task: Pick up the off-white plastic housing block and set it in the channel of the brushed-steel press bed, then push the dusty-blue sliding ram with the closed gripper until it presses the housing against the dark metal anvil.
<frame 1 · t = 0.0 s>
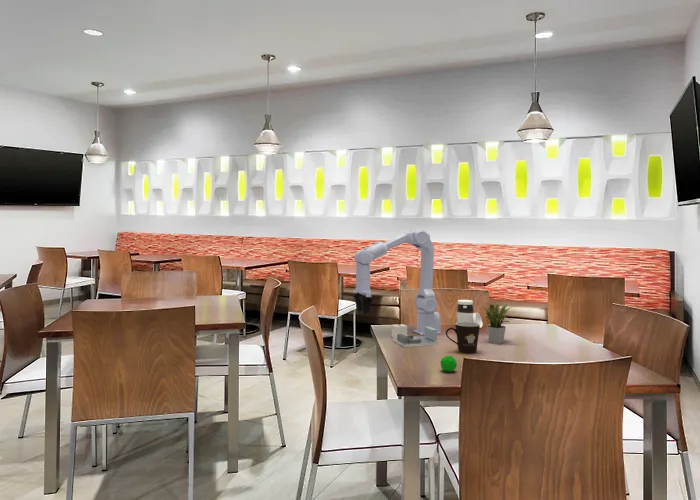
hand: (363, 312, 212), 10 cm above the table, fingers open, 7 cm apart
housing: (399, 337, 212), on the table
coffee mug: (463, 351, 188), on the table
ram: (430, 333, 204), point 3 cm above the table, slide at 0.0 cm
press frame: (414, 342, 202), on the table
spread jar: (469, 327, 235), on the table
polyhedron: (448, 371, 162), on the table
house plant: (499, 342, 203), on the table
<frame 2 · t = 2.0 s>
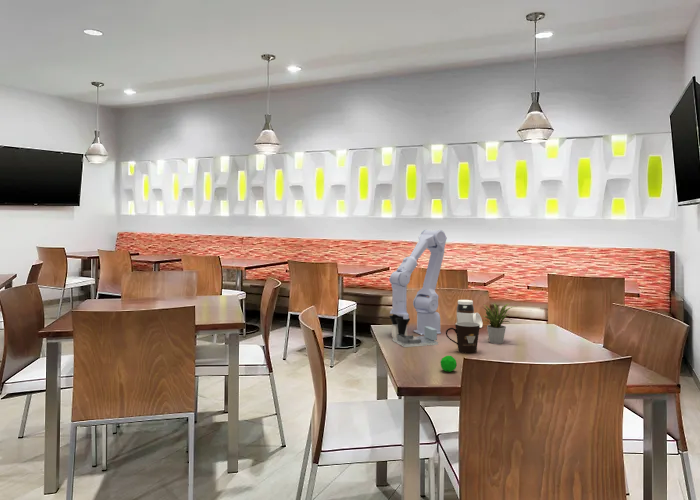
hand: (399, 333, 212), 1 cm above the table, fingers closed on housing, 4 cm apart
housing: (399, 337, 212), on the table, touching gripper
everything else where it was.
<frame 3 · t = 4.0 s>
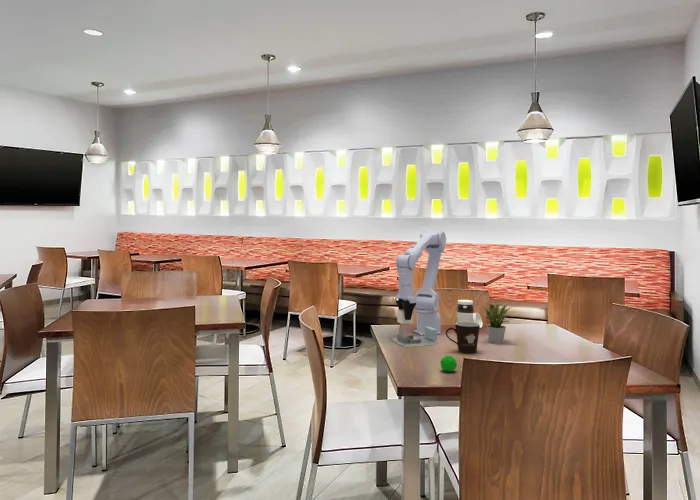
hand: (405, 318, 207), 8 cm above the table, fingers closed on housing, 4 cm apart
housing: (405, 322, 207), point 7 cm above the table, touching gripper
everything else where it was.
when the fingers open (3 cm above the table, at t = 5.7 s): housing stays where it is, resting on press frame.
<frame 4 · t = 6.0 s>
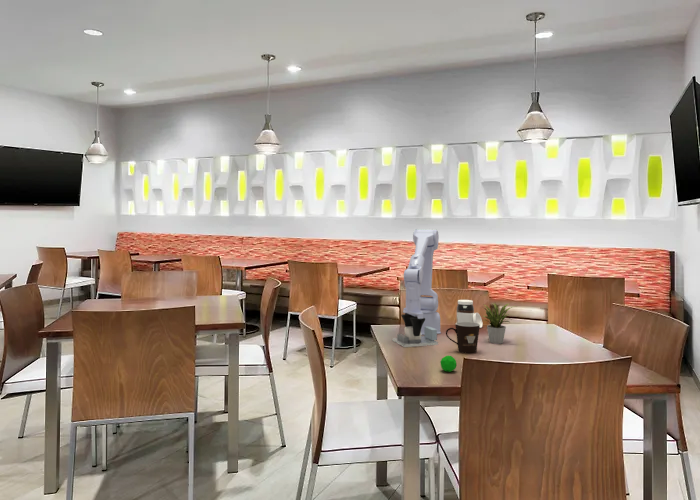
hand: (413, 334, 202), 3 cm above the table, fingers open, 6 cm apart
housing: (412, 340, 202), point 1 cm above the table, touching press frame
everything else where it was.
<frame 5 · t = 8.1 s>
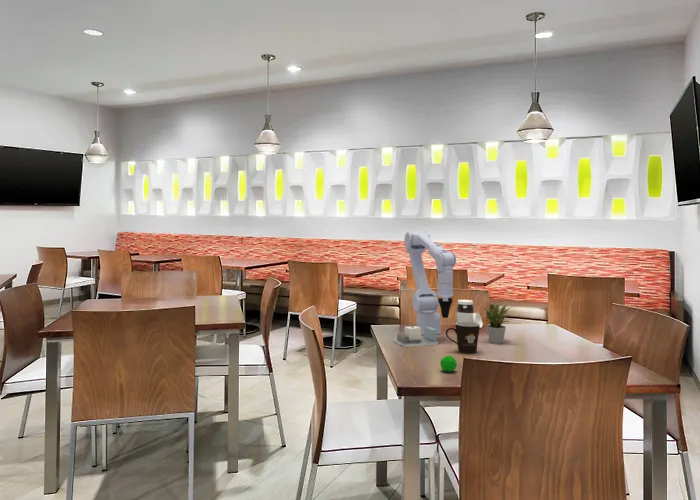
hand: (445, 317, 205), 9 cm above the table, fingers closed
nothing on the table moved.
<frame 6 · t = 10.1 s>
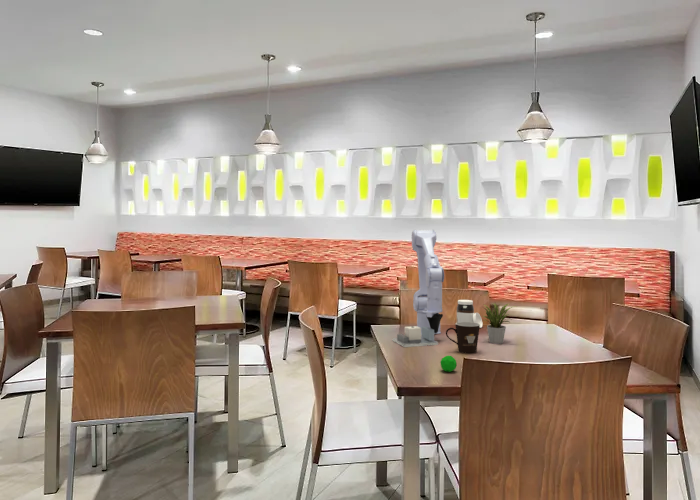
hand: (434, 332, 204), 3 cm above the table, fingers closed
ram: (427, 333, 203), point 3 cm above the table, slide at 1.2 cm, touching gripper
everything else where it was.
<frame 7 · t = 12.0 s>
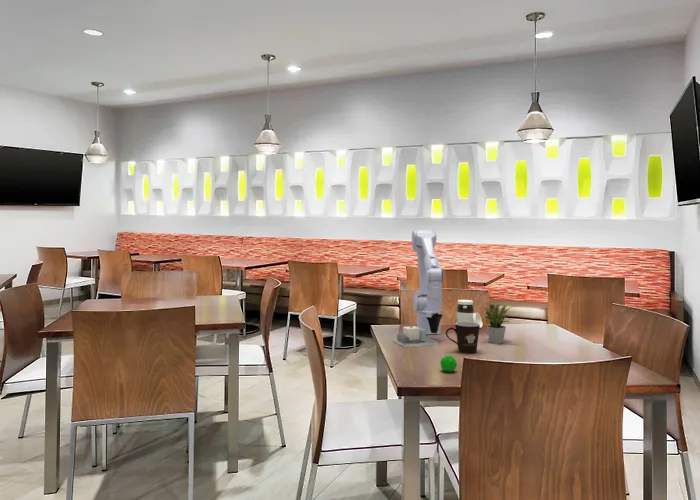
hand: (434, 332, 204), 3 cm above the table, fingers closed
ram: (420, 333, 202), point 3 cm above the table, slide at 4.5 cm
everything else where it was.
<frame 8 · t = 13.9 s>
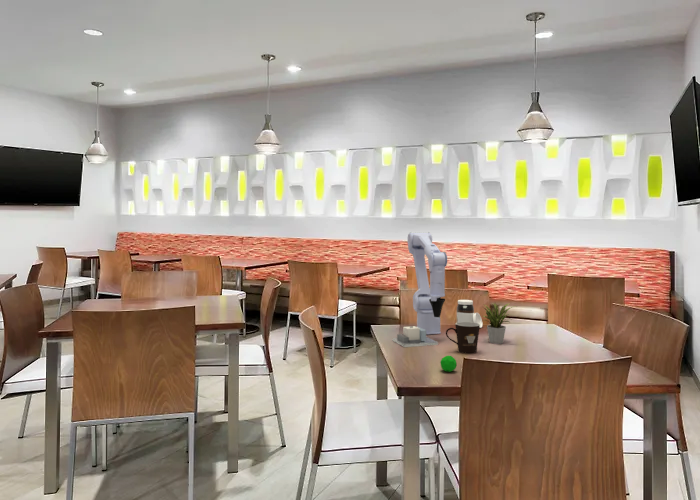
hand: (437, 316, 205), 9 cm above the table, fingers closed
nothing on the table moved.
at the end: ram slide at 4.5 cm; housing 0.0 cm from the target spot, point 1.0 cm above the table; housing tilted 0° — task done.
